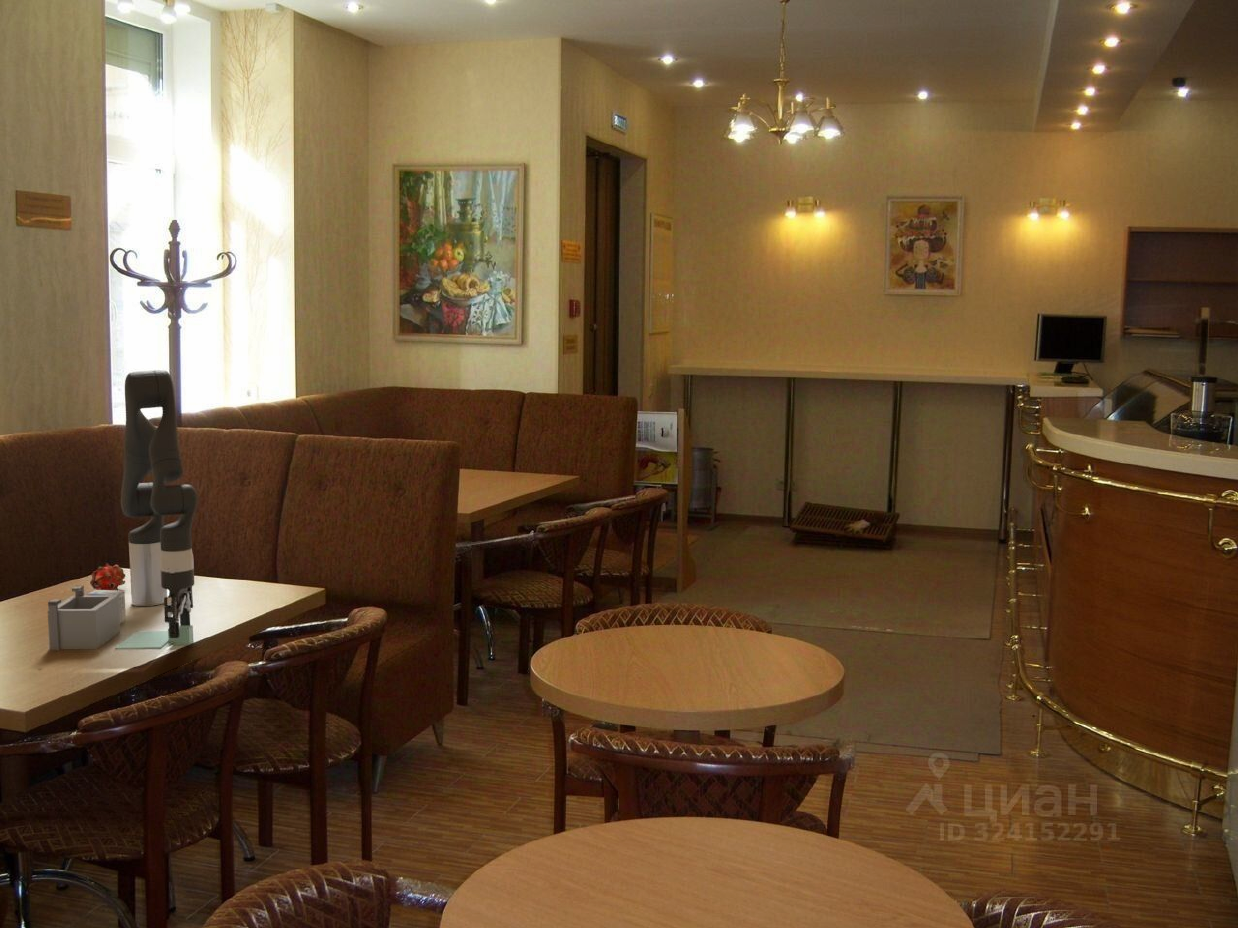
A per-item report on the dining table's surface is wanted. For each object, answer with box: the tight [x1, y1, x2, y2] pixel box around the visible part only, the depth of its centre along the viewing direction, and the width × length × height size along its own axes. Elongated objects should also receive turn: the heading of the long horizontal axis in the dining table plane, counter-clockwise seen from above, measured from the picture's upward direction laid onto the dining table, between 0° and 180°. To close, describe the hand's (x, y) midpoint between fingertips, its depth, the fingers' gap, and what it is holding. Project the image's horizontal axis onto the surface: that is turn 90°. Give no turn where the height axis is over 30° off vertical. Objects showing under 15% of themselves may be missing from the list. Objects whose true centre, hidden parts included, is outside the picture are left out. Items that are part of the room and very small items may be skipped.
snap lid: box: [114, 624, 195, 650], centre depth 291 cm, size 14×16×4 cm
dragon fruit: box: [89, 563, 126, 590], centre depth 343 cm, size 8×8×12 cm
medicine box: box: [86, 589, 127, 624], centre depth 307 cm, size 8×4×9 cm, turn 84°
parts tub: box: [47, 585, 121, 651], centre depth 290 cm, size 17×11×12 cm, turn 3°
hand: (180, 632), depth 291 cm, fingers open, 8 cm apart
